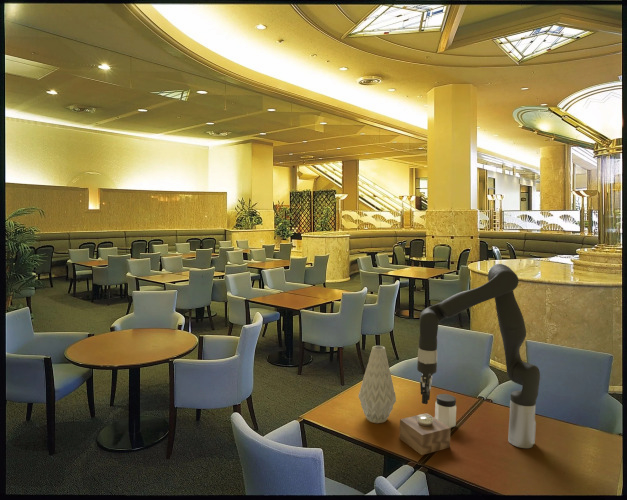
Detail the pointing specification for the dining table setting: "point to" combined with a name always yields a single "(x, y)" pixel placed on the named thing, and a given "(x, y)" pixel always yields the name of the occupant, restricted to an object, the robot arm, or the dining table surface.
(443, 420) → the jar
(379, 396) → the vase
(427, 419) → the pin
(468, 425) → the dining table surface
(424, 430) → the pin block
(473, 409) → the dining table surface
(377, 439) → the dining table surface
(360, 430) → the dining table surface
